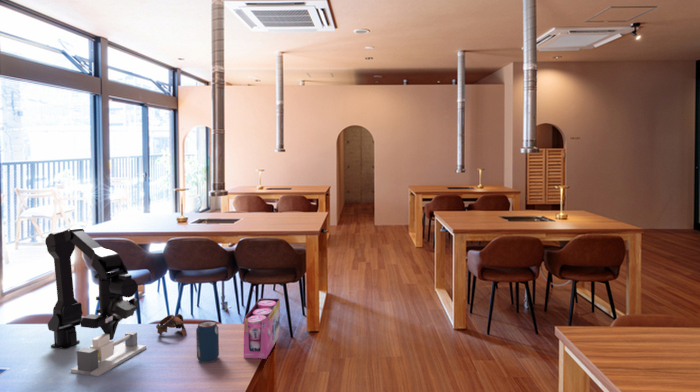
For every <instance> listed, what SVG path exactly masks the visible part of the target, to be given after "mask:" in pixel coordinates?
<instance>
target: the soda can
mask: <svg viewBox="0 0 700 392" xmlns="http://www.w3.org/2000/svg"><path fill="white" fill-rule="evenodd" d="M195 332H196V334H195V335H196V337H195V338H196V339H195V340H196V358H197V360H198V361H199V362H200V363H203V364H204V363H205V364H207V363H208V364H209V363H212V362H215V361H216V360H217V359H218V358H219V355H220V346H219V345H220V344H219V341H220V339H219V334H220V333H219V326H218V324H217V322H216V321H215V320H203V321H200V322H198V323H197V327H196V331H195Z"/></svg>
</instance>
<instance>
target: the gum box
mask: <svg viewBox="0 0 700 392" xmlns="http://www.w3.org/2000/svg"><path fill="white" fill-rule="evenodd" d="M280 301H281V299H280V298H265V297H264V298H259V299H258V300H257V301H256V302H255V304H254V305H253V306H252V308H250V310H249V311H248V312H247V314H246V315H245V316H244V319H243V320H244V323H243V359H258V358H259V359H260V358H261V360H262V359H263V360H264V359H265V360H267V358H268V356H269V355H270V353H271V351H272V349H273V348H274V346H275V344H276V342H277V340H278V339H279V337H280V334H281V316H280V315H281V314H280V313H281V312H280V310H281V308H280V307H281V305H280Z"/></svg>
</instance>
